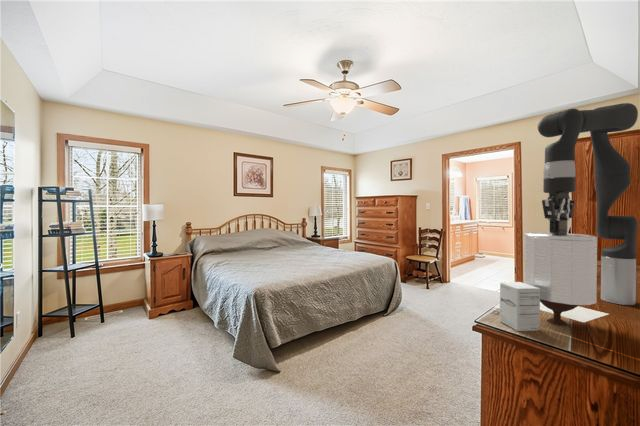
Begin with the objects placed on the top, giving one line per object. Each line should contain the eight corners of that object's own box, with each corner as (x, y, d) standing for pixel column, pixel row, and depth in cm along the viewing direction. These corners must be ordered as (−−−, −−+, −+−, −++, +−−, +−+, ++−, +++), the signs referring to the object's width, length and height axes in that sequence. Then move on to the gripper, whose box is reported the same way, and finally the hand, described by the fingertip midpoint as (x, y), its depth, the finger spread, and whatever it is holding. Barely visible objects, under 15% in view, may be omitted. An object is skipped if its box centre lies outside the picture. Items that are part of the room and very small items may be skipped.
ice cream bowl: (590, 333, 81) (591, 281, 80) (546, 329, 83) (547, 278, 83) (566, 318, 91) (567, 272, 91) (527, 316, 93) (528, 271, 93)
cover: (542, 285, 98) (542, 218, 98) (607, 300, 83) (608, 220, 82) (512, 291, 91) (512, 219, 91) (577, 308, 76) (579, 221, 75)
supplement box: (498, 321, 89) (499, 281, 88) (520, 320, 89) (520, 281, 89) (516, 331, 81) (517, 288, 81) (540, 330, 82) (541, 287, 82)
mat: (550, 300, 109) (550, 299, 109) (609, 315, 94) (609, 314, 94) (524, 306, 102) (524, 305, 102) (583, 324, 87) (583, 322, 87)
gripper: (557, 179, 93) (556, 231, 93) (532, 177, 87) (531, 232, 87) (586, 177, 86) (585, 232, 86) (561, 174, 80) (560, 234, 80)
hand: (558, 232), depth 87 cm, fingers closed on cover, 4 cm apart
